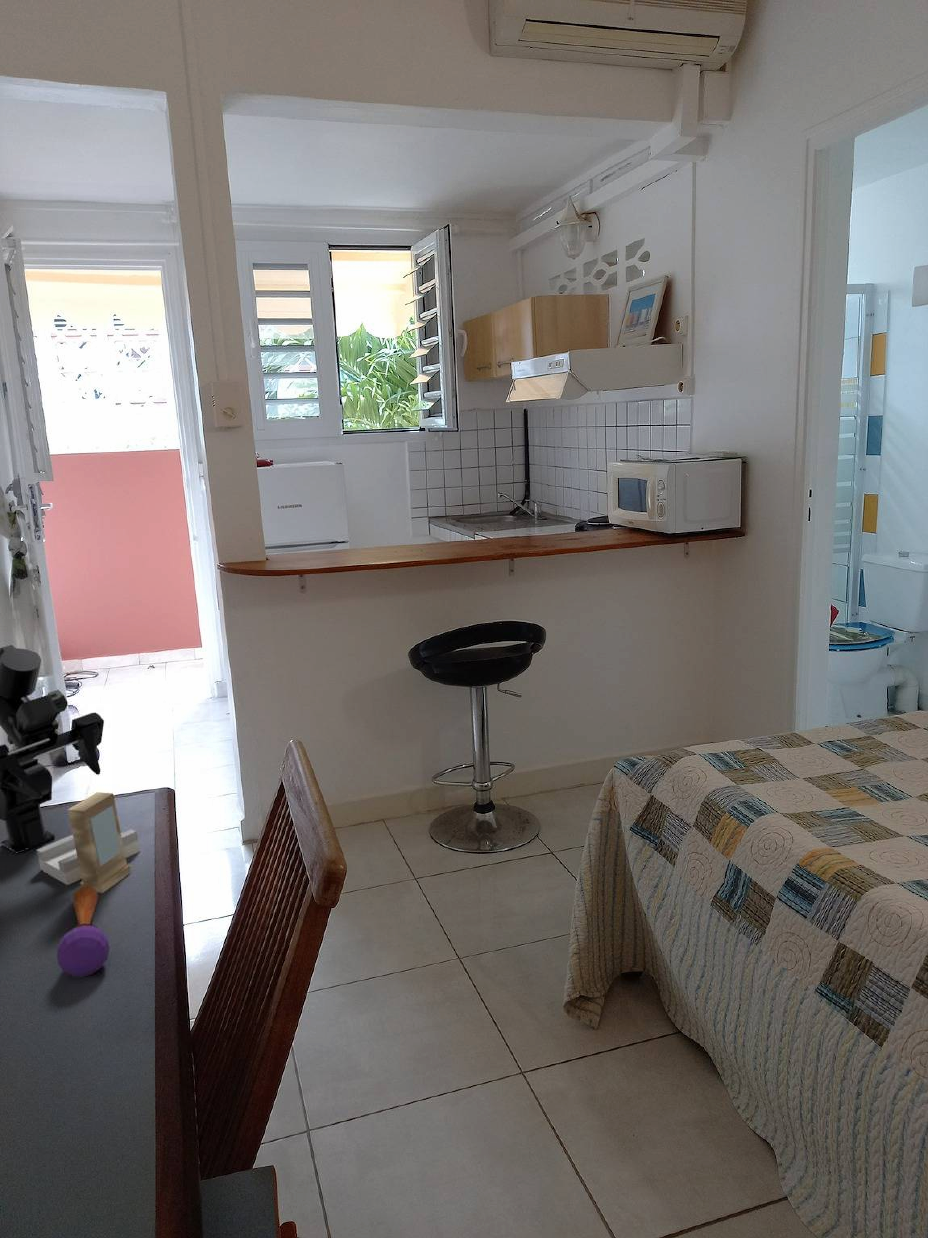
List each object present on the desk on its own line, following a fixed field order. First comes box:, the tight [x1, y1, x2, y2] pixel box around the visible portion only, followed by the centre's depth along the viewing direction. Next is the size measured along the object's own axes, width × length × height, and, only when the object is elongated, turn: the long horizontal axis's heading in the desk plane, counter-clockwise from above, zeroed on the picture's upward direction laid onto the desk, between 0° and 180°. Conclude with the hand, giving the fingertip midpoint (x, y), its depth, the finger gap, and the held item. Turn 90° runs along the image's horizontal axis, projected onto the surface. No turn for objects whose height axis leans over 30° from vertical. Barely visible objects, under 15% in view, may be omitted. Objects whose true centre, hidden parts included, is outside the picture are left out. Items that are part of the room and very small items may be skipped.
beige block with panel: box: [67, 791, 132, 894], centre depth 130 cm, size 4×6×13 cm, turn 160°
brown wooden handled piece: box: [56, 887, 110, 978], centre depth 115 cm, size 6×6×20 cm
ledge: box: [36, 828, 141, 886], centre depth 138 cm, size 9×12×4 cm
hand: (70, 784), depth 132 cm, fingers open, 9 cm apart
